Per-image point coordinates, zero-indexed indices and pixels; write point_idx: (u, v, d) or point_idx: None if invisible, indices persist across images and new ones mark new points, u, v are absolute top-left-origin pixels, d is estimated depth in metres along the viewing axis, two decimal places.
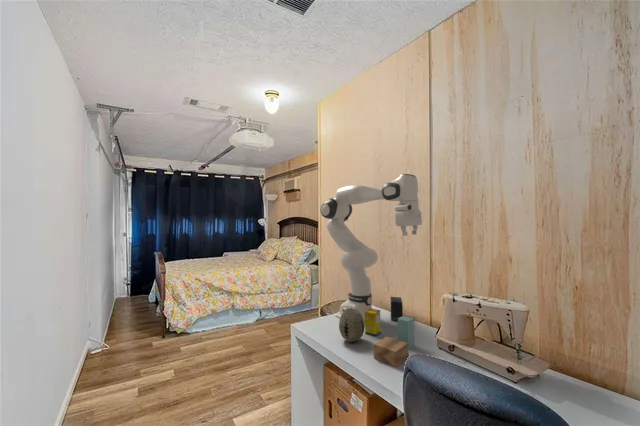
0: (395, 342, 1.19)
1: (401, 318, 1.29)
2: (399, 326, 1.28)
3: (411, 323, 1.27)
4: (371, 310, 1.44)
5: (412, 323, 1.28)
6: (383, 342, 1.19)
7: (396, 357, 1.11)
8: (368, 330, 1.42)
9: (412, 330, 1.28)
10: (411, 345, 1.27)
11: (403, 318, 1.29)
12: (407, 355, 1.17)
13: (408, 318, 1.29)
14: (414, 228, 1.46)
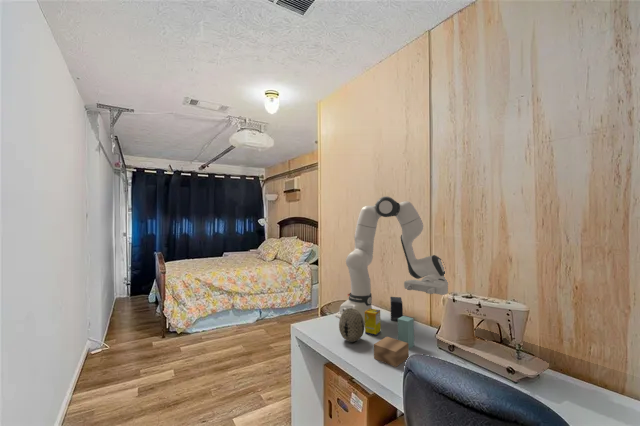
0: (395, 342, 1.19)
1: (401, 318, 1.29)
2: (399, 326, 1.28)
3: (411, 323, 1.27)
4: (371, 310, 1.44)
5: (412, 323, 1.28)
6: (384, 342, 1.19)
7: (396, 357, 1.11)
8: (368, 331, 1.42)
9: (412, 330, 1.28)
10: (411, 345, 1.27)
11: (403, 318, 1.29)
12: (407, 355, 1.17)
13: (408, 318, 1.29)
14: None
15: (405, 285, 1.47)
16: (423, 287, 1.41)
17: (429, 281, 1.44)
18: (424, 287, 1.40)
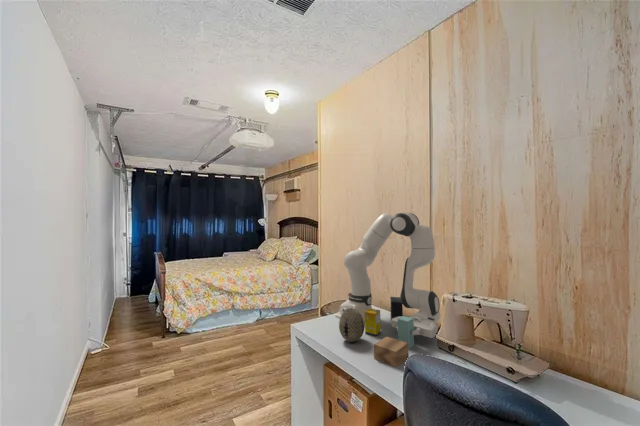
0: (395, 342, 1.19)
1: (401, 318, 1.29)
2: (399, 326, 1.28)
3: (411, 323, 1.27)
4: (371, 310, 1.44)
5: (412, 323, 1.28)
6: (383, 342, 1.19)
7: (396, 357, 1.11)
8: (368, 331, 1.42)
9: None
10: (411, 345, 1.27)
11: (403, 318, 1.29)
12: (407, 354, 1.17)
13: (408, 318, 1.29)
14: None
15: (392, 323, 1.38)
16: None
17: (418, 320, 1.35)
18: None
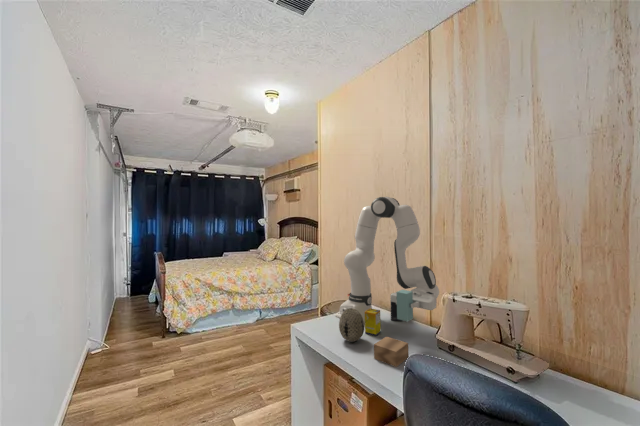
0: (395, 342, 1.19)
1: (400, 291, 1.29)
2: (398, 299, 1.28)
3: (410, 295, 1.27)
4: (371, 310, 1.44)
5: (411, 296, 1.28)
6: (383, 342, 1.19)
7: (397, 357, 1.11)
8: (368, 331, 1.42)
9: None
10: (410, 318, 1.27)
11: (402, 291, 1.29)
12: (407, 354, 1.17)
13: (407, 291, 1.29)
14: None
15: (391, 298, 1.38)
16: None
17: (417, 294, 1.35)
18: None
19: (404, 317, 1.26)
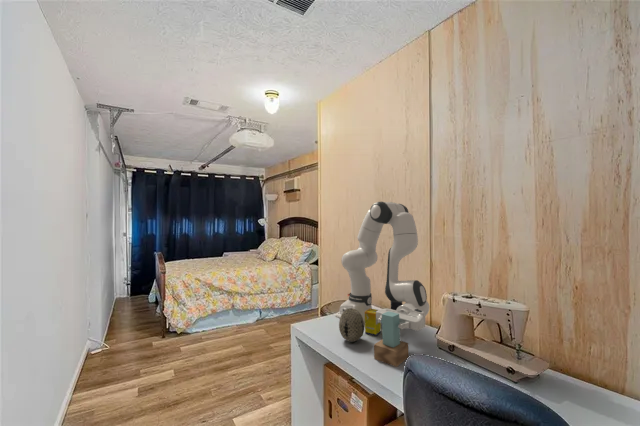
0: None
1: (386, 314, 1.18)
2: (383, 322, 1.17)
3: (396, 318, 1.17)
4: (371, 310, 1.44)
5: (398, 319, 1.17)
6: None
7: (397, 357, 1.11)
8: (368, 330, 1.42)
9: None
10: (396, 343, 1.16)
11: (388, 313, 1.18)
12: (407, 354, 1.18)
13: (393, 313, 1.18)
14: (381, 318, 1.23)
15: (377, 315, 1.27)
16: None
17: (404, 312, 1.24)
18: None
19: (389, 343, 1.15)
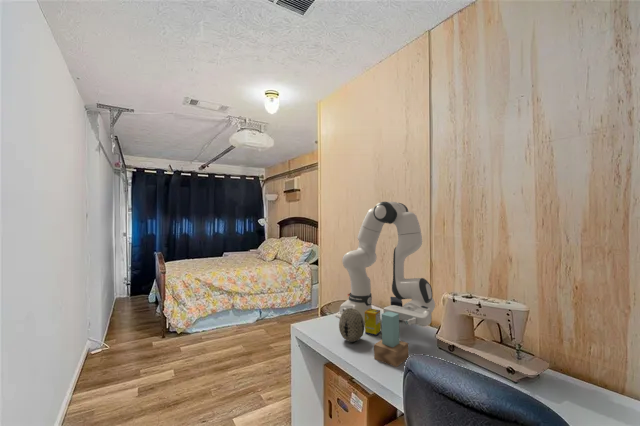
0: None
1: (385, 313, 1.18)
2: (383, 322, 1.18)
3: (396, 318, 1.17)
4: (371, 310, 1.44)
5: (397, 319, 1.18)
6: None
7: (397, 357, 1.11)
8: (368, 331, 1.42)
9: (397, 327, 1.17)
10: (396, 343, 1.16)
11: (387, 313, 1.19)
12: (407, 354, 1.18)
13: (393, 314, 1.18)
14: None
15: (384, 312, 1.32)
16: (403, 316, 1.25)
17: (411, 308, 1.29)
18: (405, 316, 1.25)
19: (389, 343, 1.16)
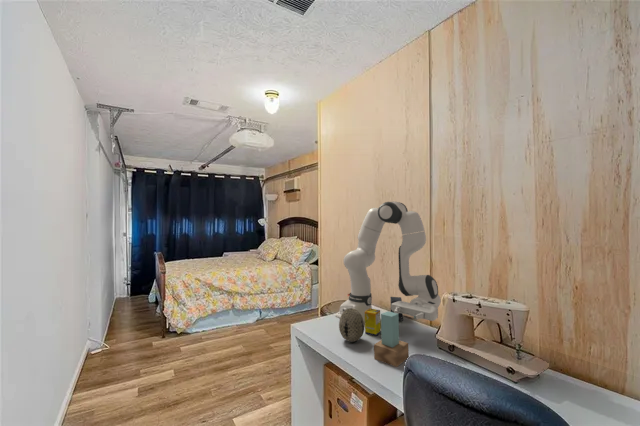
0: None
1: (385, 313, 1.18)
2: (383, 322, 1.18)
3: (395, 318, 1.17)
4: (371, 310, 1.44)
5: (397, 319, 1.17)
6: None
7: (397, 357, 1.11)
8: (368, 331, 1.42)
9: (397, 327, 1.17)
10: (395, 343, 1.16)
11: (387, 313, 1.19)
12: (407, 354, 1.18)
13: (393, 313, 1.18)
14: None
15: (392, 307, 1.36)
16: (411, 311, 1.30)
17: (418, 304, 1.33)
18: (412, 311, 1.30)
19: (388, 343, 1.16)
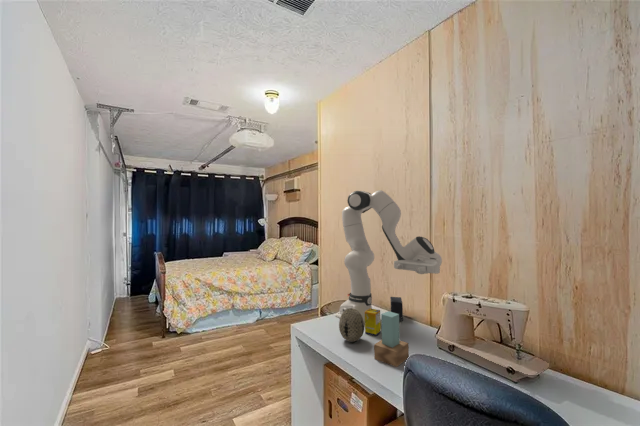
0: None
1: (385, 314, 1.18)
2: (383, 322, 1.18)
3: (396, 319, 1.16)
4: (371, 310, 1.44)
5: (397, 319, 1.17)
6: None
7: (397, 357, 1.11)
8: (368, 330, 1.42)
9: (397, 327, 1.17)
10: (396, 343, 1.16)
11: (387, 313, 1.18)
12: (407, 354, 1.17)
13: (393, 314, 1.18)
14: None
15: (395, 265, 1.39)
16: (413, 266, 1.33)
17: (420, 260, 1.36)
18: (415, 266, 1.32)
19: (388, 343, 1.16)
